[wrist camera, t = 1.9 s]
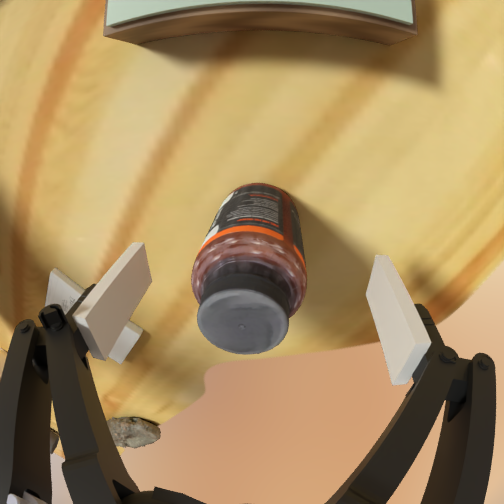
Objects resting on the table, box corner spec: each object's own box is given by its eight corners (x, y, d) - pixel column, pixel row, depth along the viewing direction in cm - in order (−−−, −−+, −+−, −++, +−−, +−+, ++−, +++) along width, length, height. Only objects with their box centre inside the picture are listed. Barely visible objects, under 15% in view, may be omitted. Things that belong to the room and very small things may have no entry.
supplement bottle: (206, 198, 21) (147, 291, 11) (280, 168, 20) (282, 245, 10) (239, 262, 24) (214, 376, 14) (309, 238, 22) (327, 352, 12)
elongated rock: (77, 419, 56) (108, 436, 59) (71, 435, 51) (103, 451, 55) (129, 407, 40) (175, 430, 44) (120, 433, 36) (169, 455, 40)
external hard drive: (124, 356, 33) (49, 304, 30) (145, 326, 30) (57, 264, 27) (120, 365, 32) (43, 312, 29) (140, 336, 28) (49, 272, 25)
